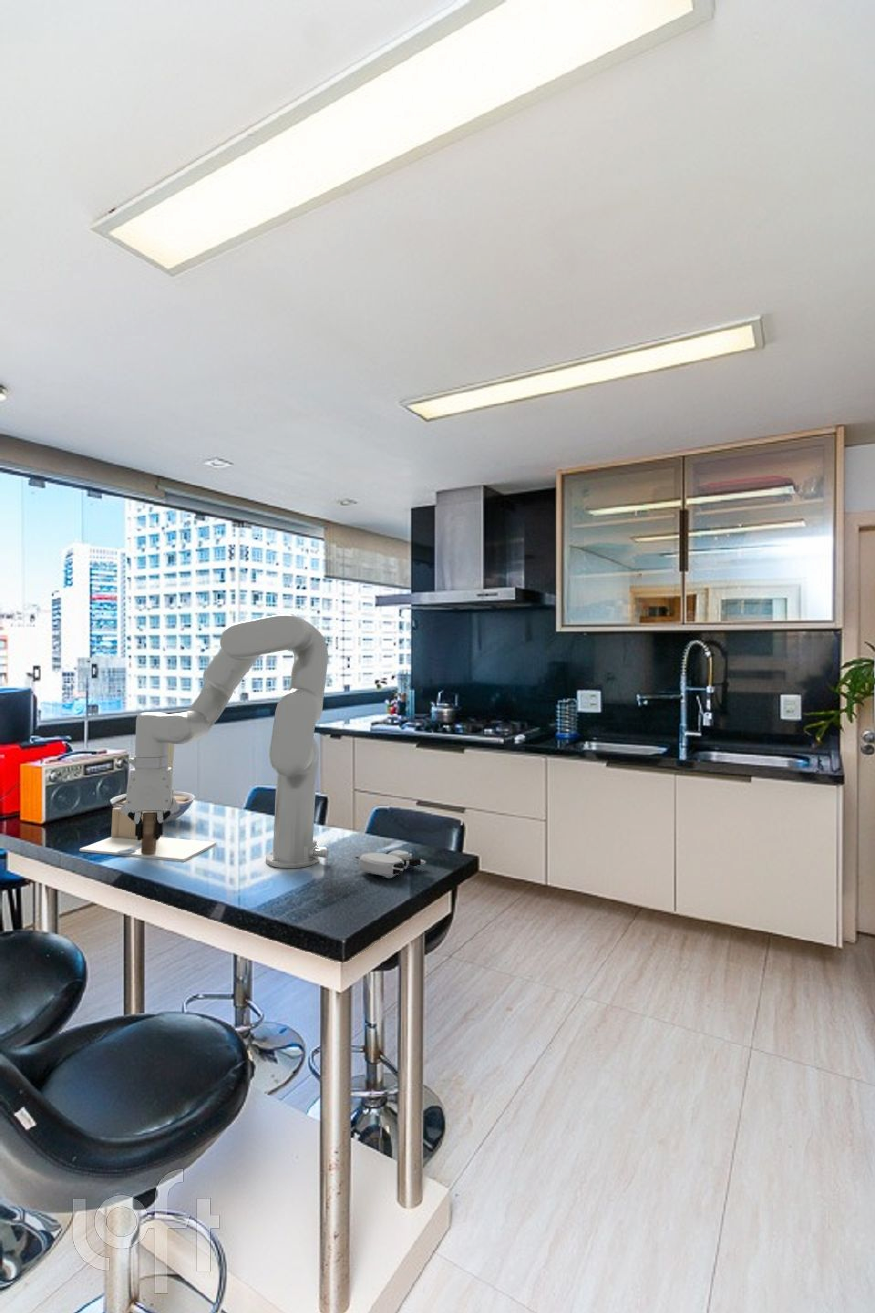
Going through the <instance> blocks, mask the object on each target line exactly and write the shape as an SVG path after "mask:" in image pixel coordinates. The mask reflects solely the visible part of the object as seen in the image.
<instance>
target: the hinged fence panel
mask: <svg viewBox="0 0 875 1313" xmlns="http://www.w3.org/2000/svg"><path fill="white" fill-rule="evenodd" d="M157 820H158V816H157V812H156V811H148V812H144V813H143V828H142V847H141V853H143V854H151V853H154V852H156V839H155V825H156V823H157Z"/></svg>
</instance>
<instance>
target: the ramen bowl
mask: <svg viewBox="0 0 875 1313" xmlns="http://www.w3.org/2000/svg"><path fill="white" fill-rule="evenodd" d="M126 795H127V793H124V794H120V795H118V796H116V795H115V796H114V797H112V798H111V799H109V801H110V805H108V807H113V808H121V807H122V806H123V804H124V803H125V801H126ZM173 797H174V798H175V800H176V802H177V804H178V805H179V807H180V809H179V810H178V811H177V812H175V813H173V814H171V815H170V816H169V817H167V818H166V819H165V820H164V821H163V825H165V824H167V823H168V822H171V821H174V820H175V819H178V818H180V817H182V815H184V814H185V812H186V811H187V810H188V809H189V808H190V807H191V805H192V804H193V802H194V800H195V798H196V796H195V795H194V794H193V793H189V792H184V791H177V790H173ZM171 808H172V806H171V807H170V808H169V809H171ZM169 809H168V810H169ZM166 811H167V810H165V812H166Z"/></svg>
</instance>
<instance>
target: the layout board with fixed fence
mask: <svg viewBox="0 0 875 1313" xmlns="http://www.w3.org/2000/svg"><path fill="white" fill-rule="evenodd" d="M120 809H121V808H114V807H113V808H112V814H111V815H112V817H111V833H110V837H107V838H104V839H102V840H100V841H97V842H94V843H92V844H89V845H85V846H83V847H80V848H79V852H85V853H92V854H93V853H94V854H101V855H102V854H103V855H112V856H113V855H114V856H124V857H135V858H143V859H153V860H163V861H165V860H166V861H175V862H186V861H188V860H190V859H192V858H193V857H196V856H198V855H200V854H201V853H204V852H205V851H207V850H209V849H211V848H213V847H214V846H216V845H217V843H218V842H216V841H209V840H208V841H206V840H198V839H197V840H195V839H183V838H176V837H175V838H173V837H165V836H160V838H159V839H158V840H156V852H154V853H151V854H143V853H141V847H142V839H141V840H139V841H138V840H137V836H135V823H134V821H132V820H131V819H130V818H129V817H128V816H127V815H124V814H122V813H120ZM156 812H157V811H156ZM143 813H144V812H143ZM142 821H143V814H142Z"/></svg>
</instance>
